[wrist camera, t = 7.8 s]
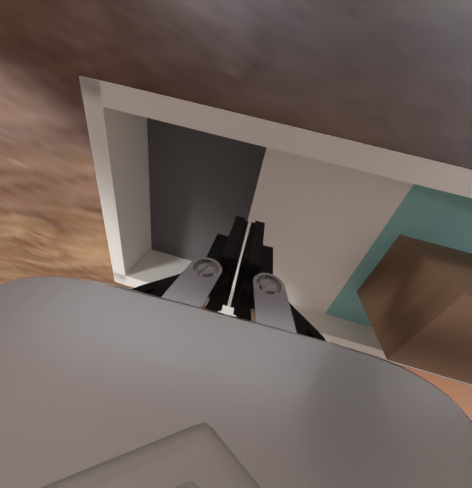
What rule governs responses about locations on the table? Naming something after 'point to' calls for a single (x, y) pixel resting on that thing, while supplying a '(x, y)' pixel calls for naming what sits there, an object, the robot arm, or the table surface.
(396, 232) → the tray
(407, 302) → the walnut block
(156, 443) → the robot arm
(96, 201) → the table surface
